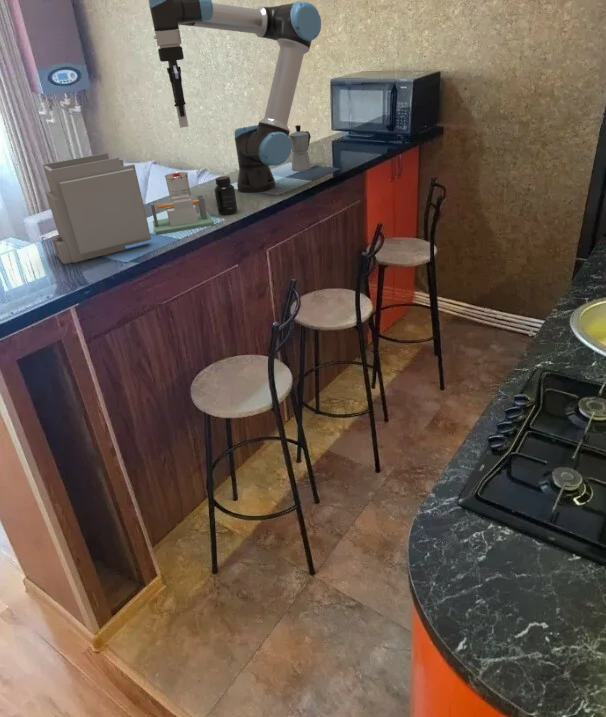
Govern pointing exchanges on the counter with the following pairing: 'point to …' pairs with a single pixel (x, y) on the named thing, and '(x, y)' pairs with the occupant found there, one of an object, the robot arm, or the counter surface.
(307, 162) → the coffee maker
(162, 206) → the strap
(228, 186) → the supplement bottle
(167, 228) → the board
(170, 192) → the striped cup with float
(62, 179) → the grey layered block
